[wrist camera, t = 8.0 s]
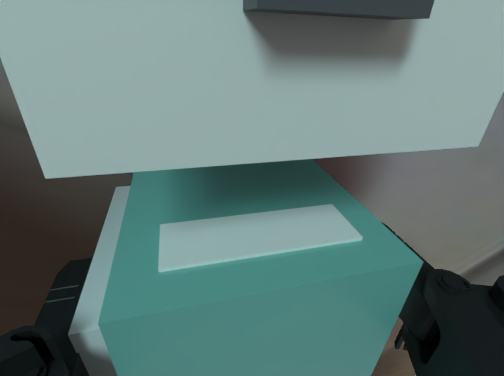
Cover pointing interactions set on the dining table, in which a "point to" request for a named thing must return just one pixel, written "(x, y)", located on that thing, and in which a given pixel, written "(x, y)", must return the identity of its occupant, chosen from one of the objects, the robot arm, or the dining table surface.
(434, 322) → the robot arm
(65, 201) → the dining table surface
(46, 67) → the board
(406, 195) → the dining table surface
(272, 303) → the block
